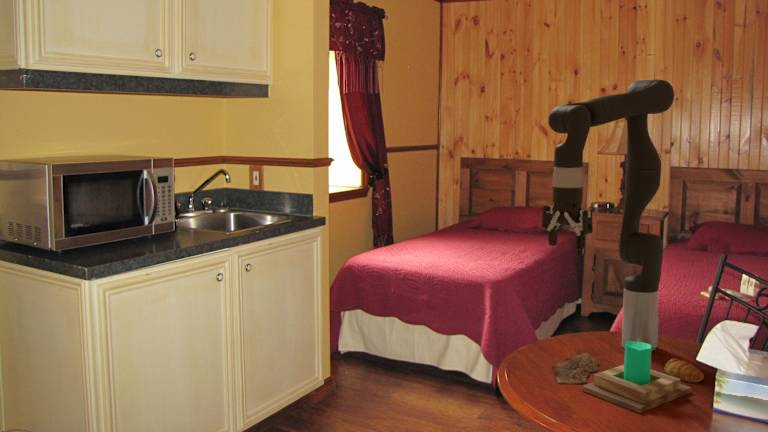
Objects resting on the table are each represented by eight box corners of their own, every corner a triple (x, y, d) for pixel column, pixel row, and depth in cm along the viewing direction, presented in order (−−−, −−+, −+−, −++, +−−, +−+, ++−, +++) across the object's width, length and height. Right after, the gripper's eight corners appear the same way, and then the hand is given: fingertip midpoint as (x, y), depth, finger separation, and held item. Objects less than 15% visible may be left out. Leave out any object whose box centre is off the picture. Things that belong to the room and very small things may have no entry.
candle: (618, 386, 167) (620, 338, 165) (630, 380, 171) (632, 333, 169) (643, 393, 162) (645, 344, 161) (654, 386, 167) (656, 338, 165)
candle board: (632, 372, 179) (633, 358, 178) (690, 392, 166) (691, 377, 165) (582, 390, 168) (582, 376, 167) (639, 413, 155) (640, 397, 154)
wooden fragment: (581, 389, 169) (581, 385, 169) (538, 380, 175) (538, 376, 175) (610, 358, 190) (610, 355, 190) (571, 351, 196) (571, 348, 196)
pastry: (710, 381, 173) (711, 366, 173) (692, 386, 170) (692, 371, 170) (678, 369, 182) (679, 355, 181) (660, 374, 179) (661, 360, 178)
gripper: (600, 186, 172) (598, 250, 175) (555, 182, 184) (554, 242, 186) (581, 188, 168) (579, 253, 170) (536, 183, 179) (535, 245, 182)
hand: (566, 247), depth 178 cm, fingers open, 8 cm apart
